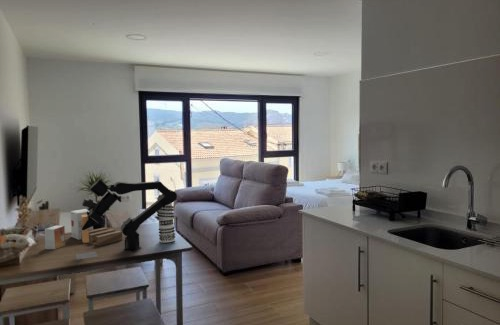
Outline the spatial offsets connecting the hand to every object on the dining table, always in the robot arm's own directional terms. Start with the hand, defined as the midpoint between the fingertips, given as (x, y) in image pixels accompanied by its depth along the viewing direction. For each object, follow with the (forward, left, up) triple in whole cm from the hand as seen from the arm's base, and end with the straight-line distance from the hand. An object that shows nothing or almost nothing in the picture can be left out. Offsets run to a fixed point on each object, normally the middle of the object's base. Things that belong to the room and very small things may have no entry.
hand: (81, 228), depth 177 cm
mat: (-1, -1, -13) cm, 14 cm away
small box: (+25, -7, -14) cm, 29 cm away
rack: (+10, -23, -13) cm, 29 cm away
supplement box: (+27, -27, -14) cm, 40 cm away
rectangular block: (-1, -1, -6) cm, 6 cm away
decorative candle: (-24, -34, -13) cm, 44 cm away
